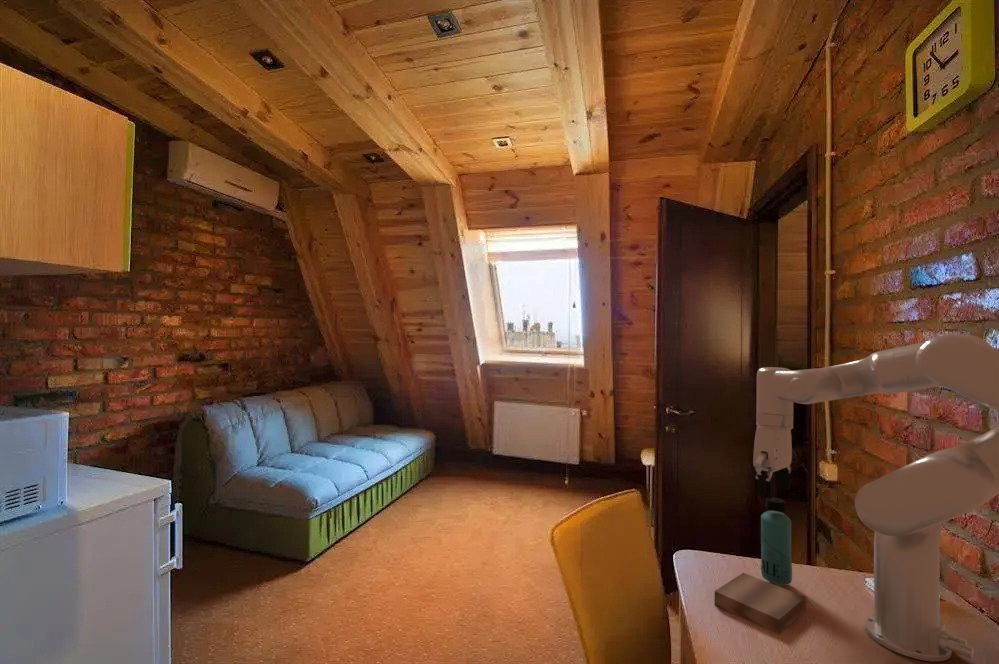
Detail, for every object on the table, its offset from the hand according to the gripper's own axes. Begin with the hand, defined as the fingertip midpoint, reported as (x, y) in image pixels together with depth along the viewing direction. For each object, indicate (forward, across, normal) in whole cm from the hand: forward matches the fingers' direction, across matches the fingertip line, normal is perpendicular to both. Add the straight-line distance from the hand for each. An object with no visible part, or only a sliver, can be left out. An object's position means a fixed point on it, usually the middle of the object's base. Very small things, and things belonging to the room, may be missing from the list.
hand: (773, 492), depth 111 cm
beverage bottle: (+22, 0, +1) cm, 22 cm away
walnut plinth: (+21, +13, +3) cm, 25 cm away
